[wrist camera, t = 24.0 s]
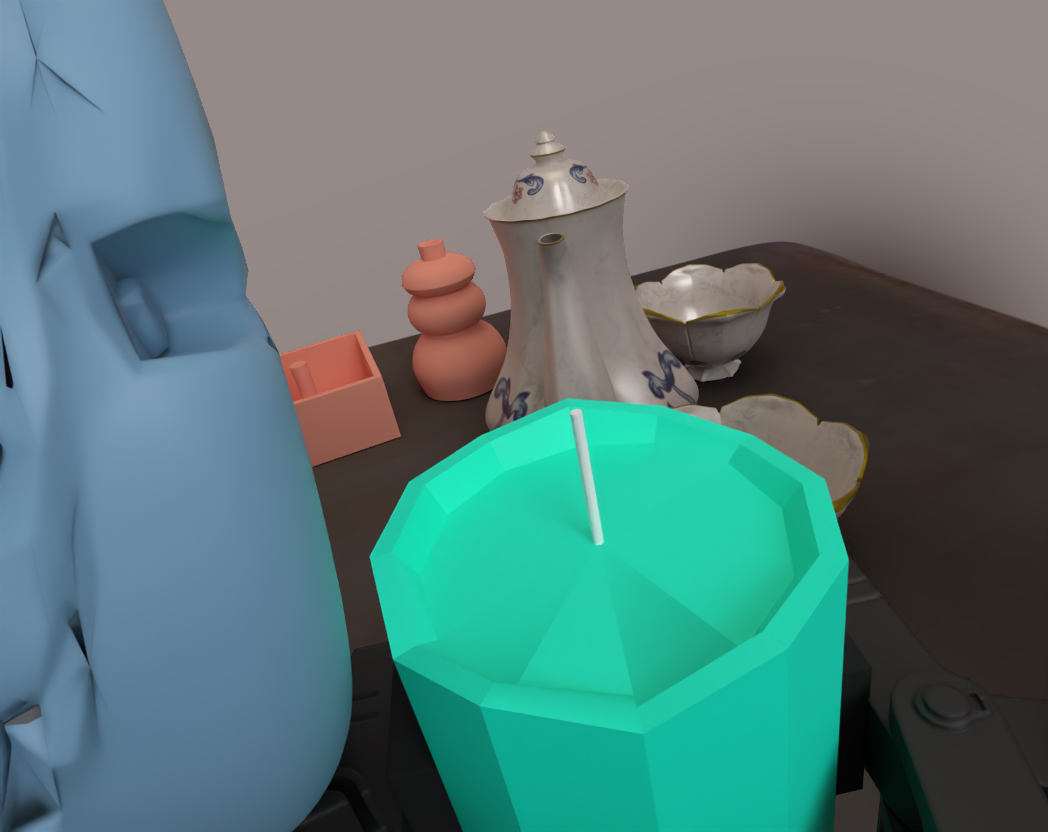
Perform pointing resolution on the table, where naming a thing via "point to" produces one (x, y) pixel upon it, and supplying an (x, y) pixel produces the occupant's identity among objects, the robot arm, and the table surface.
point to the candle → (621, 625)
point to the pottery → (438, 360)
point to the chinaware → (637, 322)
